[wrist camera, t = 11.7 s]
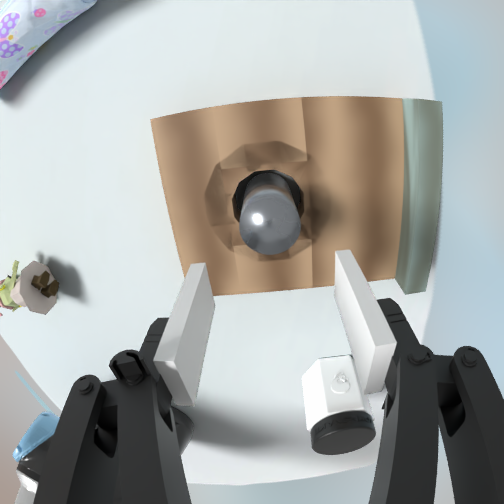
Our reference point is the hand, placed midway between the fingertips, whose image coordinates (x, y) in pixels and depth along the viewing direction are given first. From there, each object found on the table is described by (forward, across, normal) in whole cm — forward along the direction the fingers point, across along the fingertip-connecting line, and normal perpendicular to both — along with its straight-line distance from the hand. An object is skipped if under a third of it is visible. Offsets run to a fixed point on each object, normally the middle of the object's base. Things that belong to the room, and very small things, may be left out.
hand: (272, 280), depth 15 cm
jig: (+15, +3, 0) cm, 15 cm away
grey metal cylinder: (+15, 0, 0) cm, 15 cm away
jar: (+15, +7, -27) cm, 32 cm away
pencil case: (+15, -24, +24) cm, 37 cm away
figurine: (+15, -35, -7) cm, 39 cm away
